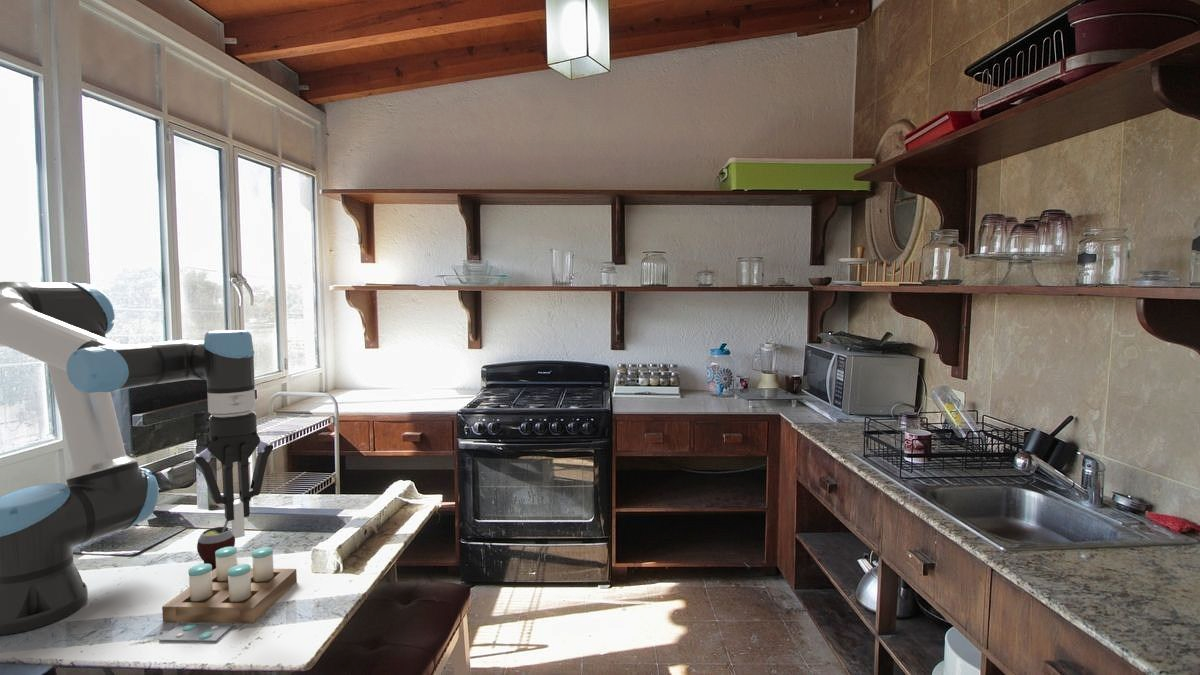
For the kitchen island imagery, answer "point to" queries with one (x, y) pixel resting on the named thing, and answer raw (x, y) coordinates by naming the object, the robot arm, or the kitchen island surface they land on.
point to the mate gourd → (214, 543)
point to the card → (197, 633)
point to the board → (226, 610)
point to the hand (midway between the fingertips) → (238, 534)
